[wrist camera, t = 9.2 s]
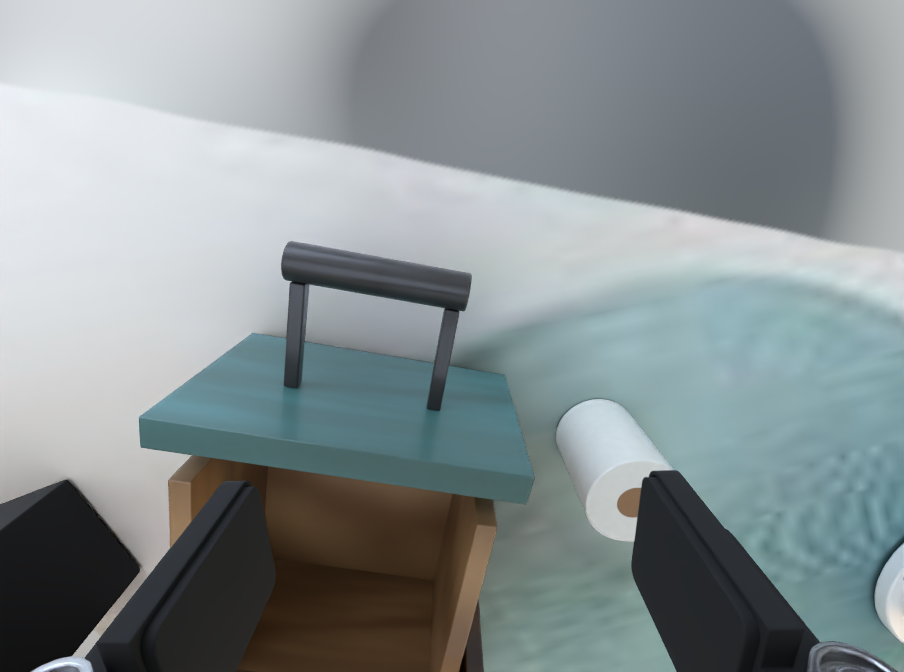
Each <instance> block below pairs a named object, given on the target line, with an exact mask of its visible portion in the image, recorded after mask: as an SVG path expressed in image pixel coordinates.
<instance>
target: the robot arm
mask: <svg viewBox="0 0 904 672" xmlns="http://www.w3.org/2000/svg"><path fill="white" fill-rule="evenodd" d="M631 566H632V573H633V577H634V580H635V582H636V585H637V587H638V589H639V591H640V593H641V595H642V597H643V600H644V602H645V604H646V606H647V608H648V610H649V613H650V615H651V617H652V619H653V621H654V623H655V625H656V628H657V630H658V632H659V634H660V636H661V638H662V641H663V643H664V645H665V647H666V649H667V651H668V653H669V656H670V658H671V660H672V662H673V664H674V666H675V669H676V671H677V672H898V671H896V670H895V669H894V668H892V667H891V666H890V665H888V664H887V663H886V662H884V661H883V660H881V659H879V658H878V657H876V656H874V655H872V654H870V653H869V652H867V651H865V650H863V649H860V648H857V647H855V646H852V645H849V644H846V643H841V642H835V641H827V642H819V641H818V639H817V638H816V637H815V636H814V634H813V633H812V632H811V631H810V629H809V628H808V627H807V626H806V625H805V623H804V622H803V621H802V620H801V618H800V617H799V616H798V615H797V613H796V612H795V611H794V610H793V608H792V607H791V606H790V605H789V604H788V602H787V601H786V600H785V599H784V597H783V596H782V595H781V594H780V592H779V591H778V590H777V589H776V587H775V586H774V585H773V584H772V583H771V581H770V580H769V579H768V578H767V576H766V575H765V574H764V573H763V571H762V570H761V569H760V568H759V566H758V565H757V564H756V563H755V562H754V560H753V559H752V558H751V557H750V555H749V554H748V553H747V552H746V550H745V549H744V548H743V547H742V545H741V544H740V543H739V542H738V541H737V539H736V538H735V537H734V536H733V535H732V534H731V533H730V532H729V531H728V530H726V529H725V528H724V527H723V526H722V525H721V523H720V522H719V521H718V520H717V518H716V517H715V516H714V515H713V513H712V512H711V511H710V510H709V508H708V507H707V506H706V505H705V503H704V502H703V501H702V500H701V498H700V497H699V496H698V495H697V493H696V492H695V491H694V490H693V488H692V487H691V486H690V485H689V483H688V482H687V481H686V480H685V478H684V477H683V476H682V475H681V473H679V472H678V471H676V470H661V471H651V472H650V474H649V477H644V478H643V480H642V486H641V493H640V501H639V509H638V517H637V524H636V532H635V540H634V547H633V555H632V565H631ZM275 580H276V570H275V565H274V560H273V555H272V550H271V545H270V541H269V536H268V531H267V526H266V521H265V516H264V511H263V507H262V502H261V497H260V492H259V489H258V488H257V487H253V486H252V484H251V482H250V481H225V482H223V483H222V484H221V485H220V486H219V487H218V488H217V490H216V491H215V492H214V493H213V495H212V496H211V497H210V499H209V500H208V501H207V502H206V504H205V505H204V506H203V507H202V509H201V510H200V511H199V513H198V514H197V515H196V516H195V518H194V519H193V520H192V521H191V523H190V524H189V525H188V527H187V528H186V529H185V530H184V532H183V533H182V534H181V535H180V537H179V538H178V539H177V540H176V542H175V543H174V544H173V546H172V547H171V548H170V549H169V551H168V552H167V553H166V554H165V556H164V557H163V558H162V560H161V561H160V562H159V563H158V565H157V566H156V567H155V568H154V570H153V571H152V572H151V574H150V575H149V576H148V577H147V579H146V580H145V581H144V582H143V584H142V585H141V586H140V588H139V589H138V590H137V591H136V593H135V594H134V595H133V596H132V598H131V599H130V600H129V602H128V603H127V604H126V605H125V607H124V608H123V609H122V610H121V612H120V613H119V614H118V616H117V617H116V618H115V619H114V621H113V622H112V623H111V624H110V626H109V627H108V628H107V630H106V631H105V632H104V633H103V635H102V636H101V637H100V639H99V640H98V641H97V642H96V644H95V645H94V647H93V648H92V649H91V650H90V652H89V653H88V654H87V655H86V657H85V658H83V657H74V656H70V657H65V658H61V659H56V660H54V661H51V662H49V663H47V664H44V665H42V666H40V667H38V668H36V669H35V670H33V671H31V672H236V670H237V668H238V666H239V664H240V661H241V659H242V657H243V655H244V653H245V650H246V648H247V646H248V644H249V641H250V639H251V637H252V635H253V633H254V630H255V628H256V626H257V624H258V621H259V619H260V617H261V615H262V612H263V610H264V608H265V606H266V604H267V601H268V599H269V597H270V595H271V592H272V590H273V588H274V585H275ZM875 608H876V611H877V613H878V616H879V618H880V620H881V621H882V622H883V624H884V625H885V626H886V628H887V629H888V630H889V631H890V632H891V633H892V634H893V635H894V636H895V637H896V638H898V639H899V640H900V641H901V642H902V643H904V543H903V544H902V545H901V546H900V547H899V548H898V549H897V550H896V551H895V552H894V553H893V554H892V556H891V557H890V559H889V560H888V561H887V563H886V564H885V566H884V567H883V569H882V572H881V574H880V576H879V578H878V580H877V585H876V590H875Z"/></svg>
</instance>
